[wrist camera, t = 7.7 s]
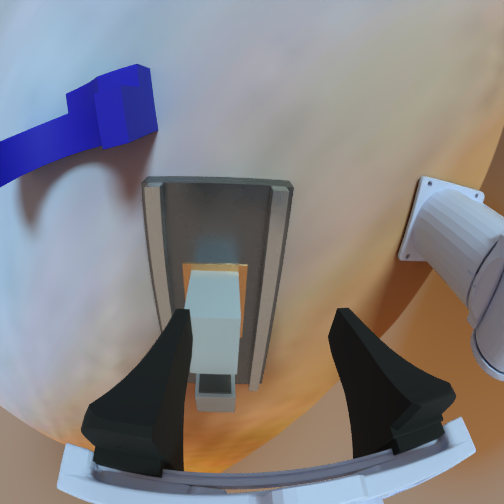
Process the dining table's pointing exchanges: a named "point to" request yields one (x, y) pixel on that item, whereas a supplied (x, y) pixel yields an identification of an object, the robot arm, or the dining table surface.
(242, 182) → the rail
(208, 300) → the pale grey block
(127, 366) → the dining table surface
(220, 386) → the small hollow grey box
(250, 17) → the dining table surface
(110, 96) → the cable clip
